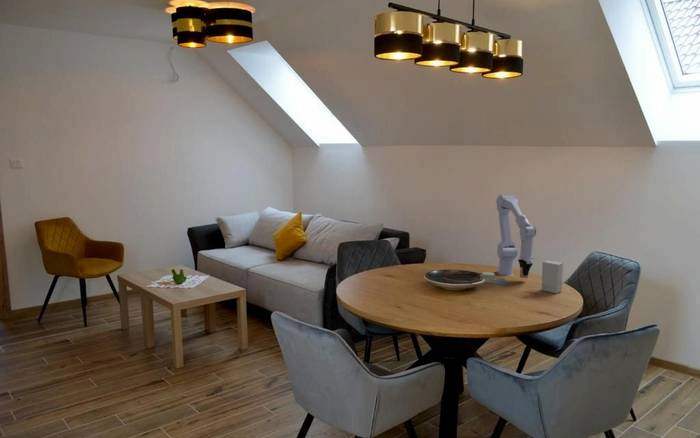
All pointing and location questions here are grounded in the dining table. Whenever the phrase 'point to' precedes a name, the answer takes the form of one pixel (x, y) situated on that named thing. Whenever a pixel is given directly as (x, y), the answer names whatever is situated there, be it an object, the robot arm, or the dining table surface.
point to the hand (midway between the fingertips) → (524, 274)
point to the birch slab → (489, 280)
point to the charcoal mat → (498, 282)
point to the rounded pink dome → (522, 273)
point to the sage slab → (488, 275)
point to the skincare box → (552, 276)
